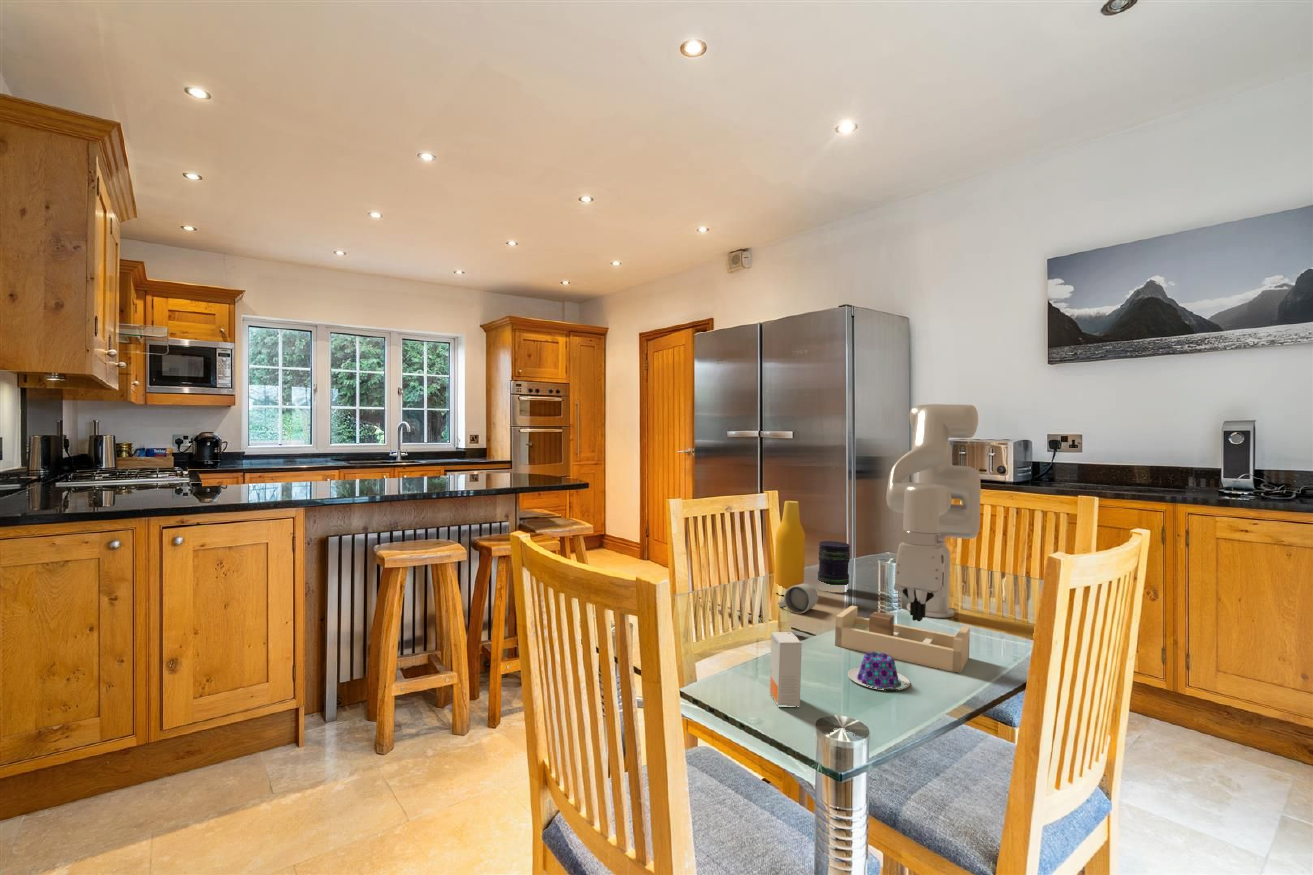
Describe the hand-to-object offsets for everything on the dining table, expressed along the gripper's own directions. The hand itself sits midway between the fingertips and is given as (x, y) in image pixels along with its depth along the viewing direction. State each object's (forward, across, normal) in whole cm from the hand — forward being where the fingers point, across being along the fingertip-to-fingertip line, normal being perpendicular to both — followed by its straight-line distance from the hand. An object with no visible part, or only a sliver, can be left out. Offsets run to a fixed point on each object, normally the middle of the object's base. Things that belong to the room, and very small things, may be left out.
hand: (917, 619), depth 141 cm
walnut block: (+5, +8, -1) cm, 10 cm away
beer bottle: (+8, +45, -34) cm, 57 cm away
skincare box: (+10, +14, +42) cm, 45 cm away
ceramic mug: (+8, +36, -18) cm, 41 cm away
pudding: (+9, +3, +20) cm, 23 cm away
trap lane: (+8, +4, -1) cm, 9 cm away
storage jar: (+7, +36, -49) cm, 61 cm away
